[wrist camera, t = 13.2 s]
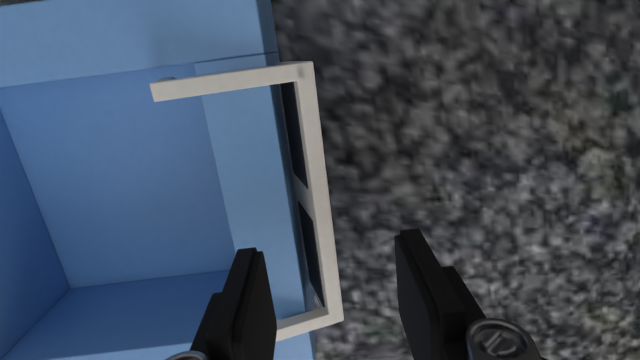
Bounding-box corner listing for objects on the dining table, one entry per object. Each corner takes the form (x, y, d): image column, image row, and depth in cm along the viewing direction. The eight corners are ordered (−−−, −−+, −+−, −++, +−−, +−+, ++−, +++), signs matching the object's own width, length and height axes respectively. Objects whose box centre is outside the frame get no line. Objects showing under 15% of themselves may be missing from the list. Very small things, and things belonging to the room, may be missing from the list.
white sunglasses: (290, 60, 20) (314, 60, 16) (320, 277, 24) (345, 320, 20) (159, 78, 18) (148, 83, 14) (216, 306, 23) (221, 359, 18)
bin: (-73, 41, 22) (-253, 37, 15) (270, -3, 22) (252, -28, 15) (48, 322, 29) (-37, 413, 22) (313, 291, 28) (315, 372, 21)
